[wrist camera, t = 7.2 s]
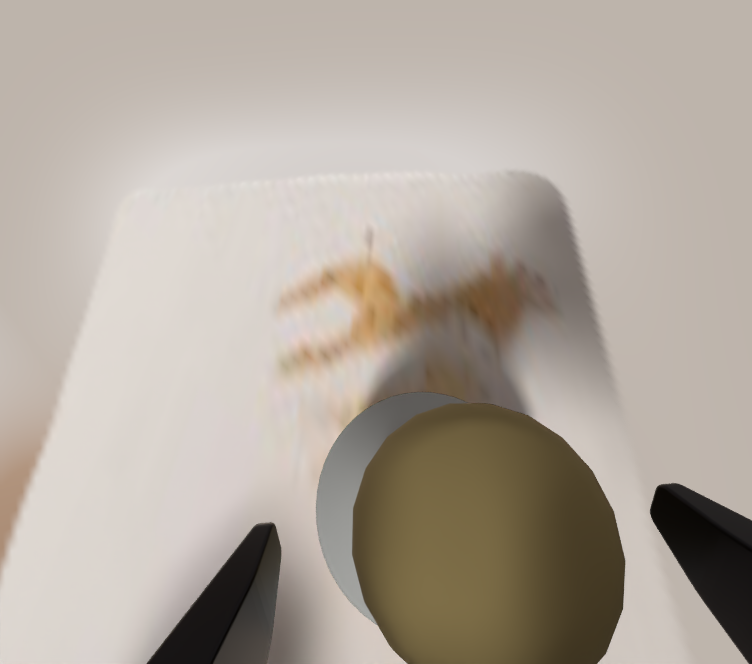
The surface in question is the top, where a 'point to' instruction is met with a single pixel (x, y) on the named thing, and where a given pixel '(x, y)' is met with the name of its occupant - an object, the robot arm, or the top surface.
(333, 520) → the lid
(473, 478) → the cork
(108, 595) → the top surface
